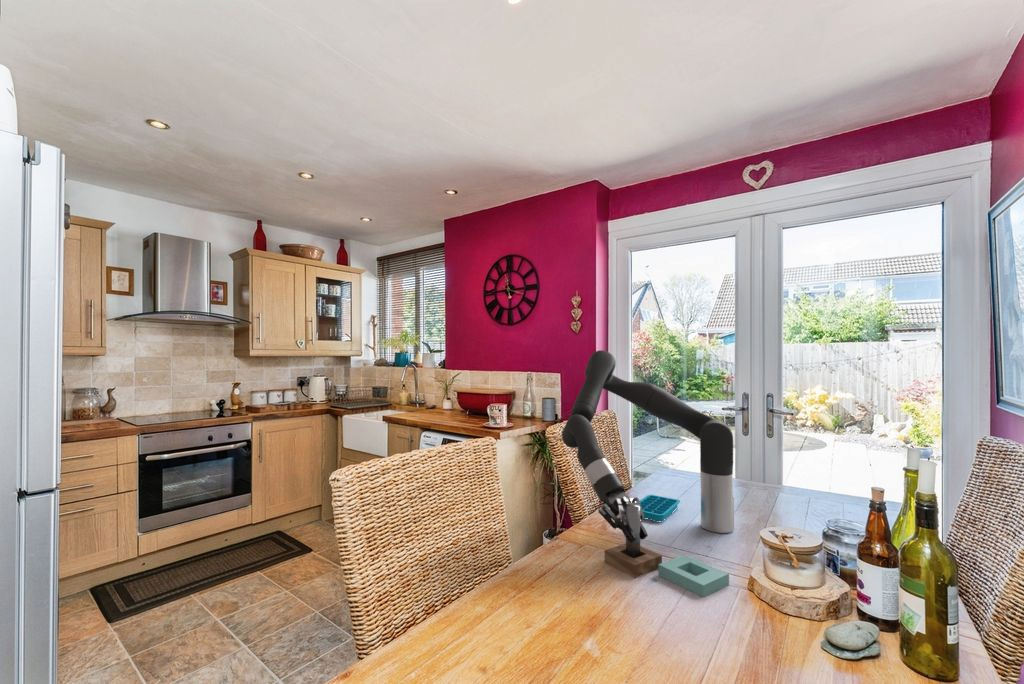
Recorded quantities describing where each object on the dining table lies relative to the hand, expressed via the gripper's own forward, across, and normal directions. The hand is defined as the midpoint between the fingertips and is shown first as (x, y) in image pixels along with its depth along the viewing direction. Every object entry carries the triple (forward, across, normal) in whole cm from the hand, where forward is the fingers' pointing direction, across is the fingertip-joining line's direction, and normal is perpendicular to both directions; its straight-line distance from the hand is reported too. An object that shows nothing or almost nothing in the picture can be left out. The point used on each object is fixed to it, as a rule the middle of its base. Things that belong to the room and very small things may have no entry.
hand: (639, 539), depth 112 cm
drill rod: (+4, 0, -6) cm, 7 cm away
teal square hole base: (+13, -6, +3) cm, 14 cm away
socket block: (+4, 0, -6) cm, 7 cm away
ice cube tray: (-12, -38, -23) cm, 46 cm away
